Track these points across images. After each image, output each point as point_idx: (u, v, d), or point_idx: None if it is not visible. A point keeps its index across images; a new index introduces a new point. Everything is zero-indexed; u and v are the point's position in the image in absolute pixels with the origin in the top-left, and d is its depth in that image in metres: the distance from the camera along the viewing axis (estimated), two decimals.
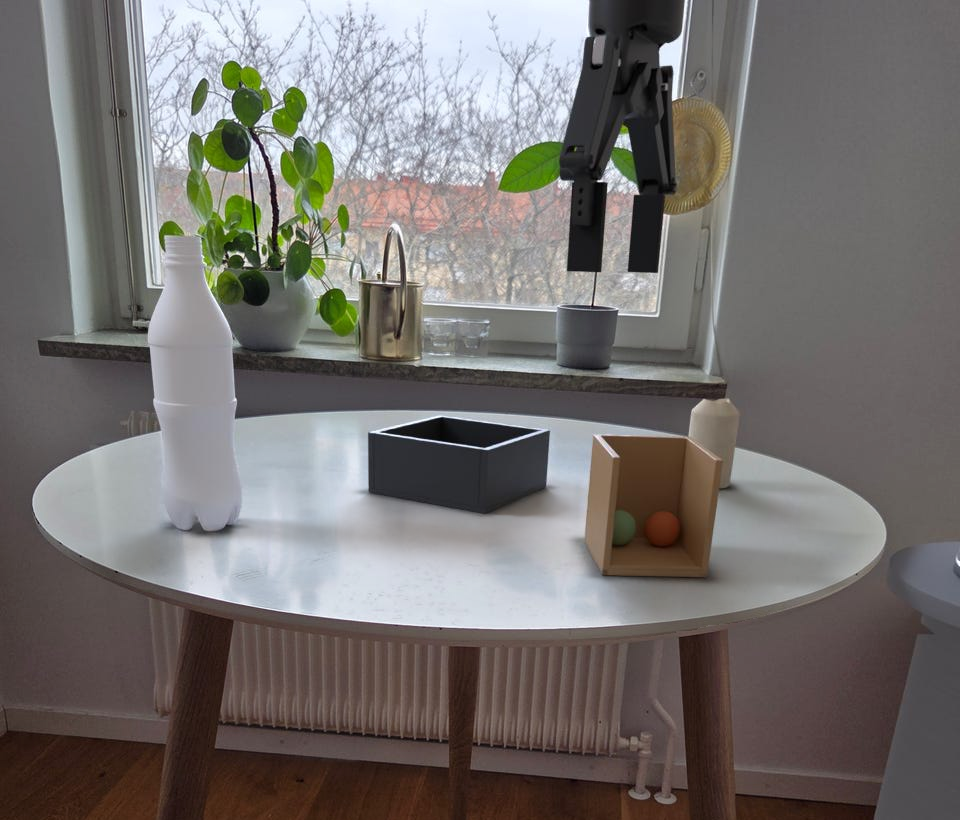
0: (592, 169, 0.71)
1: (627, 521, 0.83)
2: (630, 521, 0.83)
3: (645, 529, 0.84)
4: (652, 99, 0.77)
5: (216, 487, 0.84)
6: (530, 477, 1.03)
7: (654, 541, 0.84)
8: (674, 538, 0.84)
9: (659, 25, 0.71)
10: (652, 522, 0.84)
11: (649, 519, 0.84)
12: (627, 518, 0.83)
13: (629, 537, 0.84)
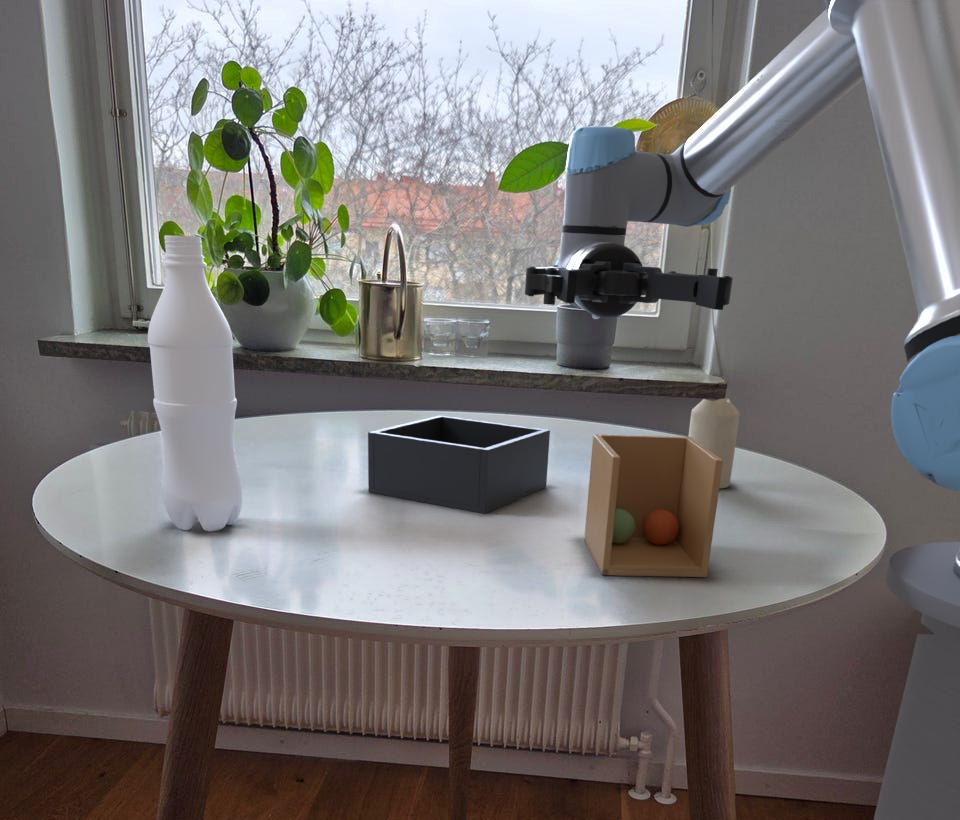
0: (545, 273, 0.89)
1: (626, 515, 0.84)
2: (628, 516, 0.84)
3: (644, 527, 0.85)
4: (636, 269, 0.95)
5: (216, 487, 0.84)
6: (530, 477, 1.03)
7: (654, 537, 0.84)
8: (673, 533, 0.84)
9: (592, 251, 0.99)
10: (650, 518, 0.84)
11: (647, 517, 0.85)
12: (625, 513, 0.84)
13: (629, 532, 0.84)
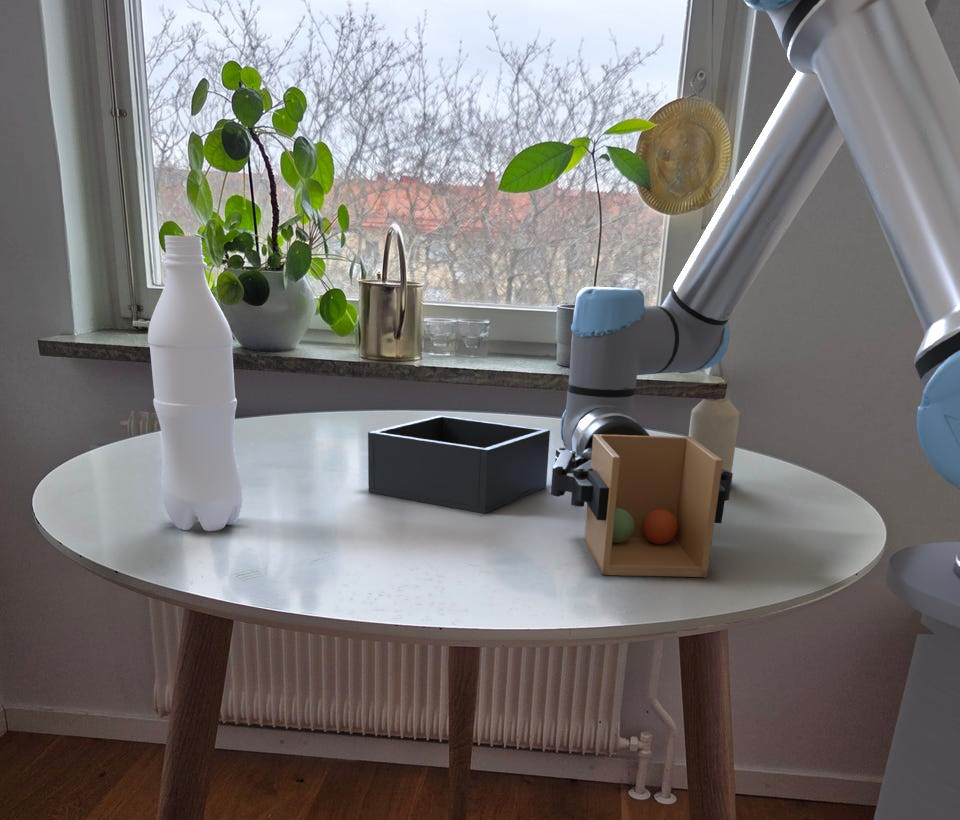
0: (573, 474, 0.83)
1: (624, 513, 0.84)
2: (627, 514, 0.84)
3: (643, 527, 0.85)
4: None
5: (216, 487, 0.84)
6: (530, 477, 1.03)
7: (653, 535, 0.84)
8: (673, 531, 0.84)
9: (599, 428, 0.93)
10: (649, 517, 0.84)
11: (646, 516, 0.85)
12: (624, 511, 0.84)
13: (628, 529, 0.84)
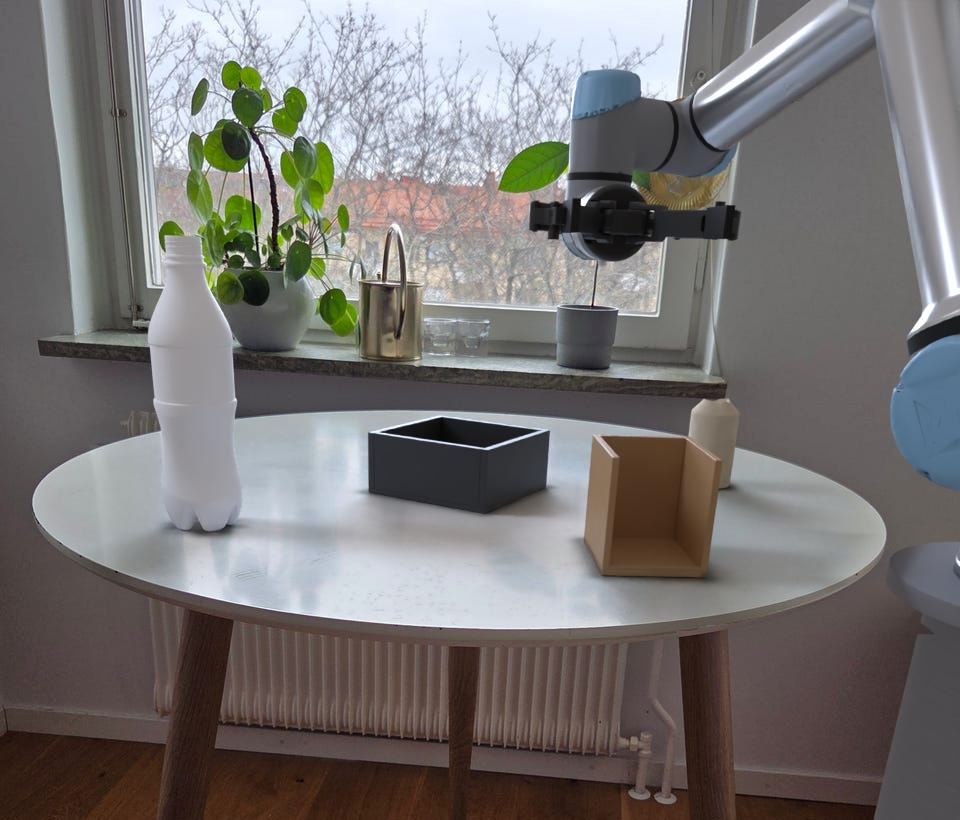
0: (549, 207, 0.88)
1: None
2: None
3: None
4: (643, 208, 0.94)
5: (216, 487, 0.84)
6: (530, 477, 1.03)
7: None
8: None
9: (597, 191, 0.97)
10: None
11: None
12: None
13: None
